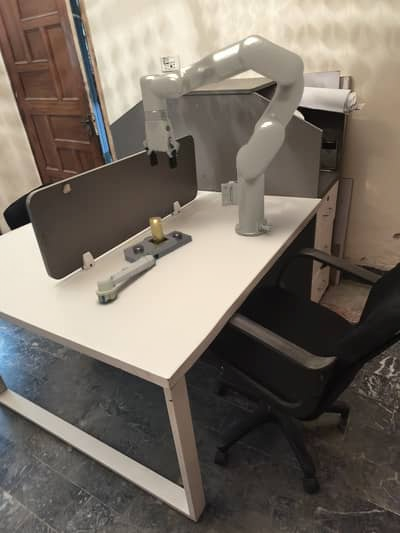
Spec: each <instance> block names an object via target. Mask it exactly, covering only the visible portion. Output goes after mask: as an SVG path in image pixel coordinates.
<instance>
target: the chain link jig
mask: <svg viewBox="0 0 400 533" xmlns="http://www.w3.org/2000/svg"><path fill="white" fill-rule="evenodd" d="M163 235H164V242H163V243H161V244H159V245H156V244H154V243H153V239H152V235H151V236H150V237H147V238H146V239H144V240H141V241H139V242H137V243H134V244H132V245H131V246H128V247H126V248H124V249H123V254H124V260H125V261H127V262H129V263H130V264H132V263H134V262H135V261H137V260H139V259H140V258H141V257H144V256H146V255H153V256H154V257H155V259H161V258H162V257H164V256H166V255H169V254H170V253H172V252H174V251H177V249H179V248H182V247H183V246H185V245H187V244H189V243H191V242H193V237H192V235H189V234H186V233H184V232H181V231H177V230H173V231H171V232H169V233H167V234H165V233H163Z"/></svg>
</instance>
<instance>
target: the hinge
mask: <svg viewBox="0 0 400 533" xmlns="http://www.w3.org/2000/svg"><path fill="white" fill-rule="evenodd" d="M220 188H221V191H220V192H221V204H222V205H221V206H222V207H227V205H228V206H238V180H236V181H234V180H232V181H231V180H230V181H228V183H227V182H226V183H221V184H220Z"/></svg>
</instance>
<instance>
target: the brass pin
mask: <svg viewBox="0 0 400 533" xmlns="http://www.w3.org/2000/svg"><path fill="white" fill-rule="evenodd" d="M149 226H150V231H151V236H152V239H153V243H154V244H156V245H159V244H161V243H163V242H164V235H163V234H164V230H163V223H162V217H160V216H152V217H150V218H149Z"/></svg>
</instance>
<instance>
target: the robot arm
mask: <svg viewBox="0 0 400 533" xmlns="http://www.w3.org/2000/svg"><path fill="white" fill-rule="evenodd" d="M304 70H305V64H304V60H303V59H302V57H301V56H300V55H299V54H297V53H295V52H293V51H292V50H290V49H289V50H288V49H286V48H285V47H283V46H280V45H279V44H276V43H274V42H273V41H271V40H268V39H267V38H265V37H263V36H261V35H259V34H251V35H248V36H247V37H246V38H243V39H241V40H238V41H236V42H234V43H232V44H229V45H227V46H225V47H222V48H220V49H218V50H214V51H212V52H210V53H209V54H206V56H205V57H203V58H201V59H200V60H197V61H196V62H193V63H192V64H189V65H187V66H184V67H182V68H179V69H177V70H173V71H171V72H167V73H162V74H158V73H157V74H148V75H146V74H145V75H142V76H140V78H139V86H140V93H141V98H142V103H143V111H144V118H145V124H144V126H145V138H146V139H144V140H143V141H142V145H143V147H144V149H145V151H146V153H147V155H148V156H149V163H150V167H155V166H157V165H158V164H159V161H158V155H157V153H156V152H164V153H165V152H166V154H167V155H168V156H169V157H168V166H169V169H170V170H173V169H175V168H177V167H178V163H177V161H178V160H177V156H178V153H179V150H180V143H179V142H178V141H176V139H175V135H174V129H173V125H172V121H171V119H169V112H168V108H167V101H166V100H167V99H179V98H180V97H182V96H183V95H185V94H188V93H189V92H192V91H194V90H197V89H199V88H203V87H205V86H208V85H211V84H218V83H221V82H223V81H226V80H228V79H231V78H233V77H236V76H238V75H241V74H243V73H245V72H249V71H253V72H254V73H256V74H259V75H260V76H263V77H265V78H267V79H269V80H271V81H273V82H275V83H277V84H276V89H275V92H274V95H273V97H272V98H271V100H270V102H269V104H268V105H267V107H266V109H264V112H263V114H262V115H261V116H260V118H259V119H258V121H257V122H256V123H255V126H254V129H253V130H254V131H253V134H252V135H251V137H250V139H249V140H248V142H247V143H246V144H244V145H242V146H241V148H239V149H238V151H237V153H236V160H235V161H236V162H235V163H236V164H235V166H236V171H237V172H236V173H237V174H236V176H237V178H236V179H237V180H236V181H238V205H237V206H238V207H237V209H238V210H237V211H238V223H237V224H235V226H234V231H235V232H236V233H237V234H239V235H241V236H245V237H256V236H261V235H263V234H265V233H267V232H269V233H270V232H271V231H272V228H273V224H272V223H268V222H267V217H266V218H265V171H266V169H268V167H269V165H270V164H271V162H272V160H274V158H275V157H276V155H277V154H278V151H279V150H280V148H281V147H282V145H283V143H284V141H285V138H286V137H285V136H286V127H287V126H288V124H289V122H290V121H291V120H292V117H293V116H294V114H295V112H296V110H297V109H298V107H299V105H300V103H301V102H302V99H303V95H304V91H305V77H304Z"/></svg>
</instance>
